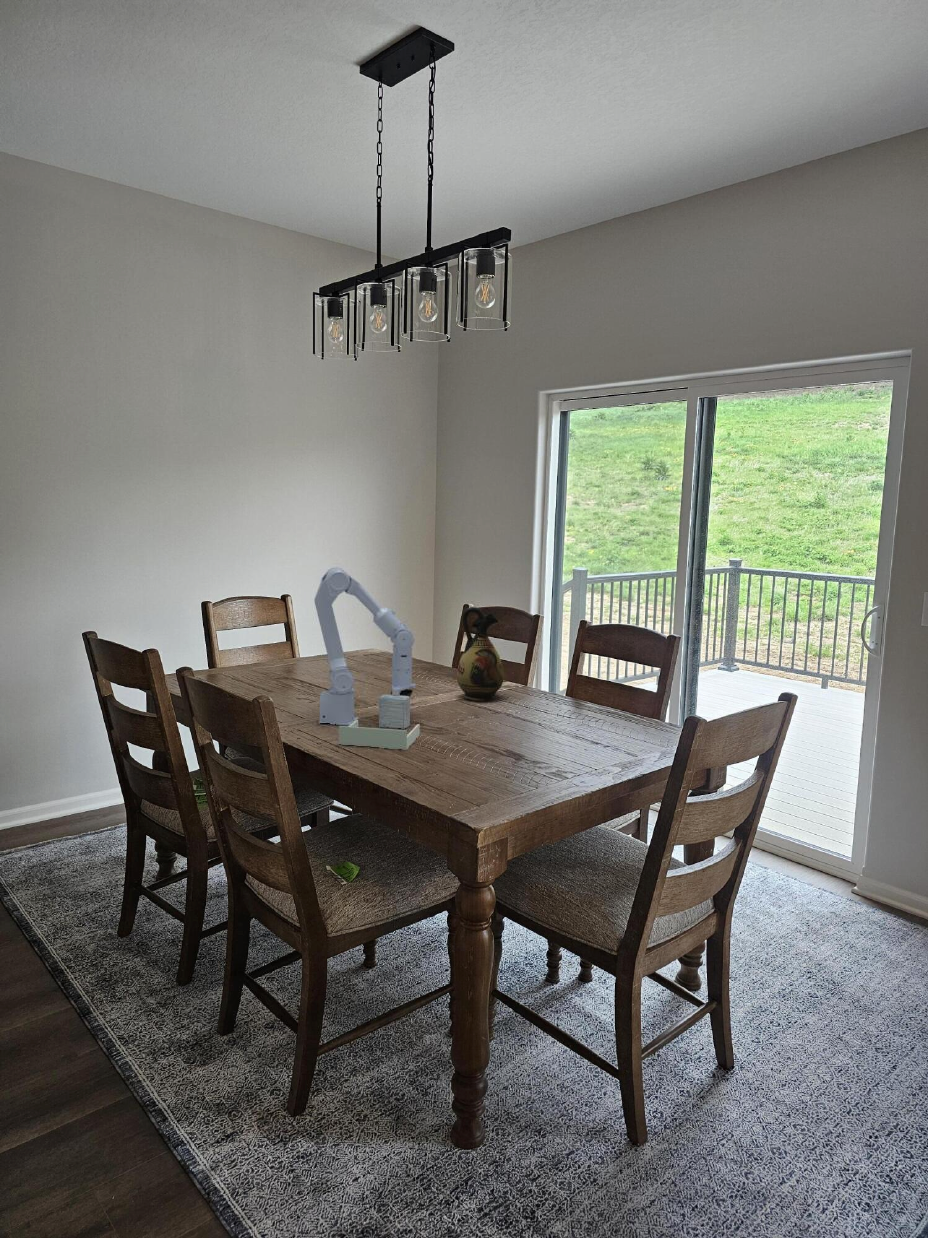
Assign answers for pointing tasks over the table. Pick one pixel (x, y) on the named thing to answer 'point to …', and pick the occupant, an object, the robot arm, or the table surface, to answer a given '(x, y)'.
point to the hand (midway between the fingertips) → (401, 714)
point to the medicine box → (394, 711)
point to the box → (377, 736)
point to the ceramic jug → (480, 660)
